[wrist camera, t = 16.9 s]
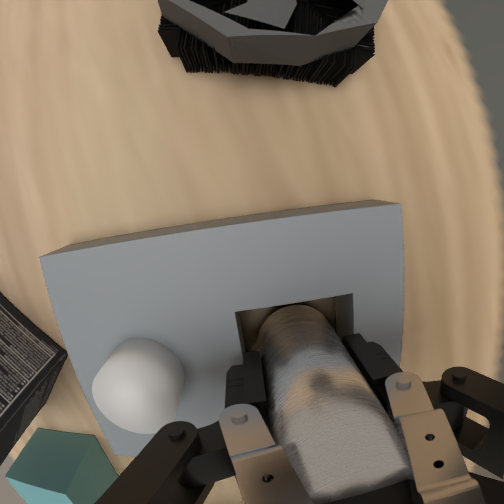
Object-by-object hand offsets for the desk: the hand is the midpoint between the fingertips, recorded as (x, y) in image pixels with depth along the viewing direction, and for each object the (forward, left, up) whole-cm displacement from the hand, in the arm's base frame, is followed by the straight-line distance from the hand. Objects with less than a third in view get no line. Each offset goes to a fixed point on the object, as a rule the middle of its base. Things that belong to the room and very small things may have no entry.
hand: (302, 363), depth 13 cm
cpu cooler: (+17, -1, -4) cm, 18 cm away
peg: (0, 0, -2) cm, 2 cm away
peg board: (0, +3, -4) cm, 5 cm away
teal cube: (-10, +17, -4) cm, 20 cm away
